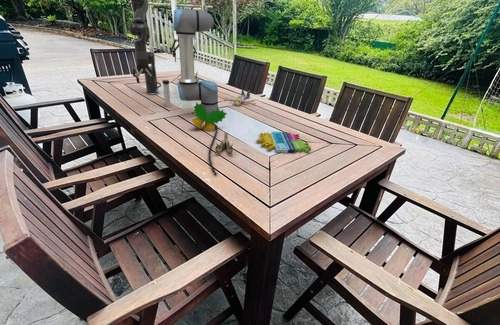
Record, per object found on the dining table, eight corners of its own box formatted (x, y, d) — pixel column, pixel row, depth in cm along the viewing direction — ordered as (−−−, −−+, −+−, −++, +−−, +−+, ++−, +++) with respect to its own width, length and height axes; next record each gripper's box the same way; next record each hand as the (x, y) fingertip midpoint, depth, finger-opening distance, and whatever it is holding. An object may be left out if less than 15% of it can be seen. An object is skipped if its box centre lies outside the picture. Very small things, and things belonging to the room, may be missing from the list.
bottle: (171, 104, 201) (169, 80, 192) (170, 106, 198) (168, 81, 189) (165, 104, 201) (163, 80, 192) (164, 106, 197) (162, 81, 188)
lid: (169, 82, 194) (169, 80, 193) (168, 84, 190) (168, 81, 189) (163, 82, 193) (162, 79, 192) (162, 84, 189) (161, 81, 188)
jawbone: (234, 135, 144) (233, 125, 135) (233, 160, 138) (232, 151, 129) (217, 135, 144) (216, 125, 135) (216, 160, 138) (214, 150, 129)
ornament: (218, 133, 171) (224, 110, 169) (221, 134, 163) (227, 111, 161) (186, 125, 162) (192, 101, 160) (189, 126, 155) (195, 101, 153)
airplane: (171, 82, 265) (170, 71, 260) (201, 80, 279) (201, 70, 274) (181, 92, 237) (180, 81, 232) (214, 89, 250) (214, 79, 245)
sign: (313, 150, 142) (258, 149, 139) (312, 153, 143) (258, 152, 140) (301, 132, 164) (254, 130, 161) (301, 134, 165) (254, 133, 162)
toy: (261, 91, 228) (254, 99, 202) (261, 99, 231) (253, 108, 205) (231, 87, 233) (220, 95, 207) (230, 95, 236) (219, 104, 210)
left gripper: (150, 56, 179) (153, 80, 187) (129, 57, 172) (132, 82, 179) (154, 58, 174) (157, 83, 182) (132, 58, 166) (135, 84, 174)
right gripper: (198, 33, 207) (199, 61, 218) (165, 31, 201) (168, 60, 211) (199, 33, 201) (200, 62, 211) (165, 32, 194) (168, 62, 205)
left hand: (145, 82), depth 181 cm, fingers open, 8 cm apart
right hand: (184, 61), depth 211 cm, fingers open, 13 cm apart
